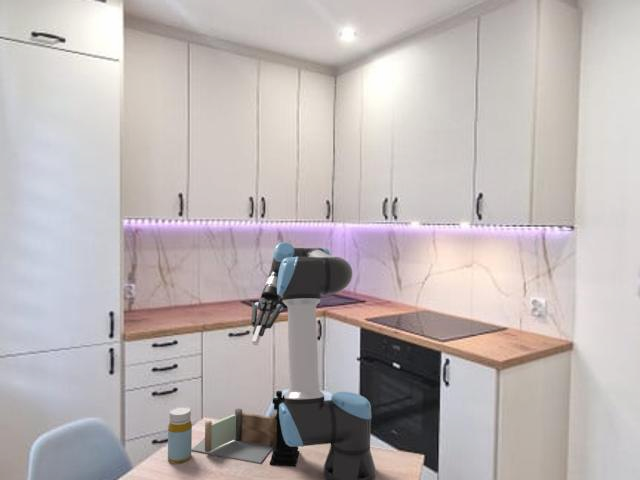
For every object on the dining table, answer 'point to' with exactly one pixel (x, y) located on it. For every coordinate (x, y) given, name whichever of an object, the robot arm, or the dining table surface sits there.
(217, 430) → the fence panel
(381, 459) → the dining table surface
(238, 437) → the walnut fence section
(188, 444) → the bottle
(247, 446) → the board
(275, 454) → the chess piece
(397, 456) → the dining table surface
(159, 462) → the dining table surface
